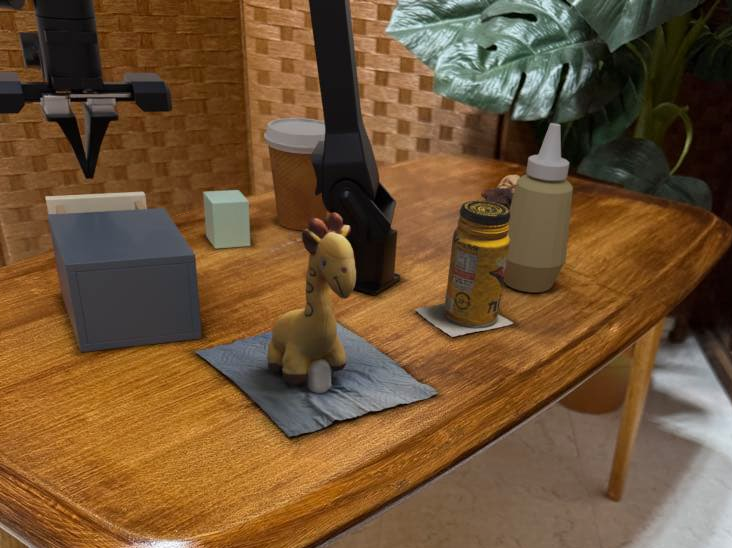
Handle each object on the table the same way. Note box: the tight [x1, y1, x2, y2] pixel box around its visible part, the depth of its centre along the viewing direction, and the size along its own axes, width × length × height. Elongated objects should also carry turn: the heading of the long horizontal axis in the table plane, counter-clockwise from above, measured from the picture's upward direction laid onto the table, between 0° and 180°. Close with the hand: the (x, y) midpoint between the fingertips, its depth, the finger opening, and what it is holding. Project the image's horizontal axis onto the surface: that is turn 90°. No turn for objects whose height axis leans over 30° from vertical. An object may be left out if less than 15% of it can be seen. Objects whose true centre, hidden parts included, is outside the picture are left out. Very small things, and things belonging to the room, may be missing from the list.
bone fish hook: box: [480, 174, 521, 210], centre depth 123 cm, size 9×5×18 cm
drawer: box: [44, 191, 148, 216], centre depth 93 cm, size 17×10×7 cm, turn 24°
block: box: [202, 189, 251, 250], centre depth 105 cm, size 4×4×6 cm
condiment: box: [414, 200, 514, 338], centre depth 90 cm, size 7×8×12 cm
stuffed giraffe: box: [194, 213, 438, 438], centre depth 76 cm, size 16×18×16 cm
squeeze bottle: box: [503, 122, 574, 293], centre depth 97 cm, size 8×8×18 cm
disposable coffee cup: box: [263, 117, 328, 231], centre depth 110 cm, size 10×10×12 cm
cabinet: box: [47, 207, 202, 353], centre depth 85 cm, size 14×12×9 cm
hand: (89, 177), depth 94 cm, fingers closed
